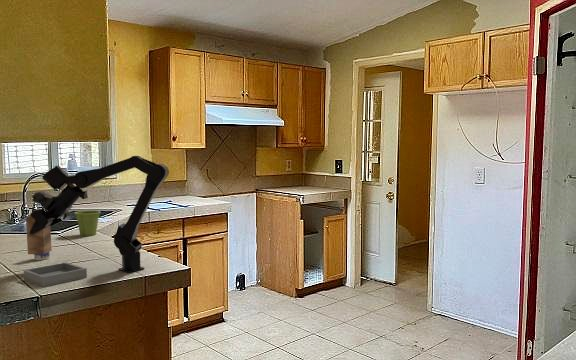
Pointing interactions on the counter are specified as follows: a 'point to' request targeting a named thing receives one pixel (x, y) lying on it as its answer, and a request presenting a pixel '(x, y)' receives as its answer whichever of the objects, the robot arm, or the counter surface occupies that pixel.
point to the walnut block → (38, 238)
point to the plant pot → (87, 222)
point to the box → (55, 274)
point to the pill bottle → (42, 256)
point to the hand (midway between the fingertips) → (34, 232)
